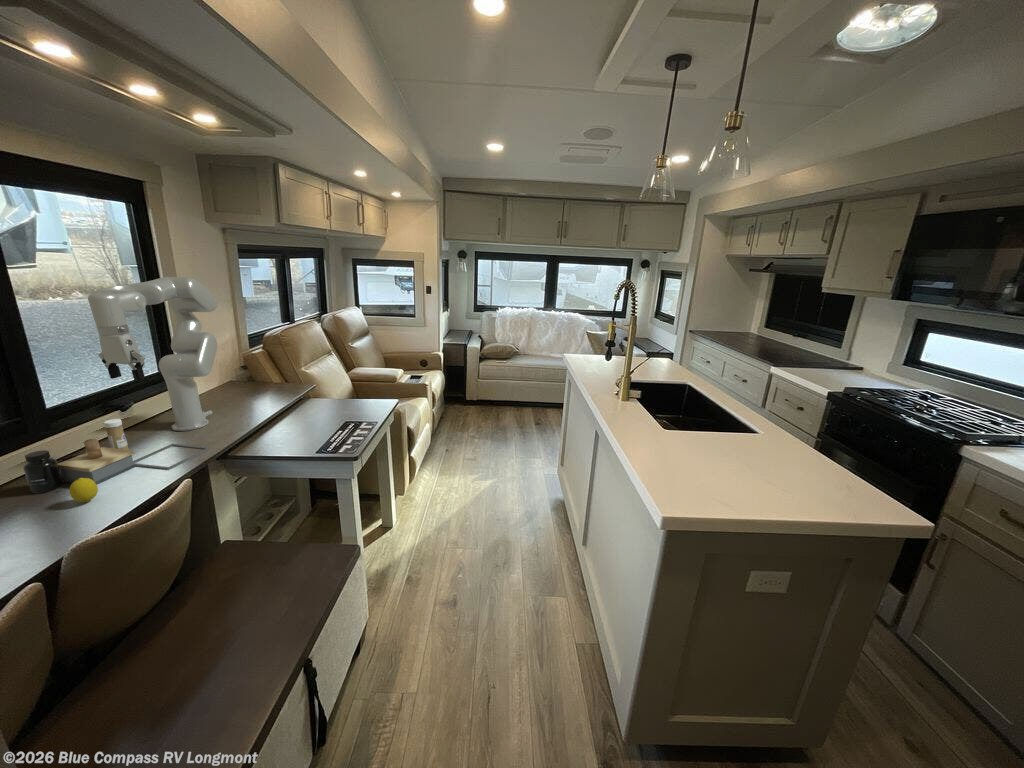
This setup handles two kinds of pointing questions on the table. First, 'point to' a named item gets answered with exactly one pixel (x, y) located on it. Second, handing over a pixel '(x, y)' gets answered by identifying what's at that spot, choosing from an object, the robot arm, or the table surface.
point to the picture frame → (174, 464)
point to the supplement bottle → (42, 472)
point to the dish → (100, 471)
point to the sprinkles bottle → (116, 434)
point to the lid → (94, 457)
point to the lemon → (83, 490)
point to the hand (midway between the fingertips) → (128, 378)
